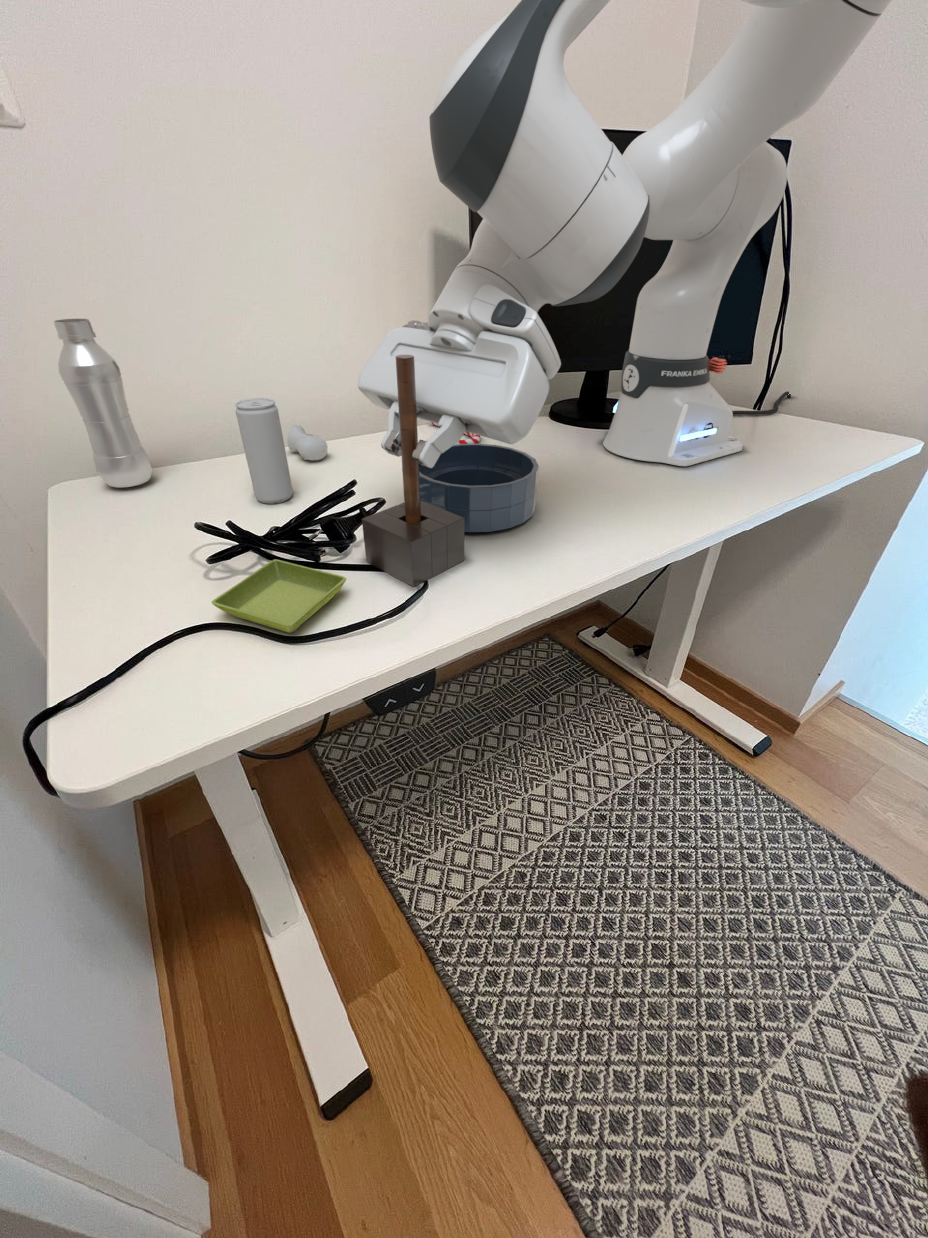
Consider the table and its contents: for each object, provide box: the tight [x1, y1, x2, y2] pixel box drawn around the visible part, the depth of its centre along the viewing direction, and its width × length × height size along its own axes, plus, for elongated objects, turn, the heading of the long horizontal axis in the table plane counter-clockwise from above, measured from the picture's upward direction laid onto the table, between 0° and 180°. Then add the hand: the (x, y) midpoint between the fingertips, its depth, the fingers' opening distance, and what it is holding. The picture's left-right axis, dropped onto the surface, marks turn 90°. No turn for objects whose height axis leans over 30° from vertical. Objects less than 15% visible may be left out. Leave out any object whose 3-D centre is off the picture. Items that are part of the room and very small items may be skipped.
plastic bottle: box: [53, 318, 153, 488], centre depth 69 cm, size 6×7×20 cm
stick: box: [396, 355, 421, 525], centre depth 52 cm, size 2×2×20 cm
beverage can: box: [234, 397, 294, 505], centre depth 68 cm, size 5×5×12 cm
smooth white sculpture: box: [286, 424, 329, 461], centre depth 84 cm, size 4×8×5 cm
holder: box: [361, 500, 465, 588], centre depth 56 cm, size 7×7×5 cm
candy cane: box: [431, 422, 481, 445], centre depth 94 cm, size 8×1×15 cm
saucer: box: [211, 558, 347, 634], centre depth 50 cm, size 9×9×2 cm
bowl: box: [419, 443, 540, 533], centre depth 67 cm, size 15×15×6 cm
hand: (405, 457), depth 51 cm, fingers open, 3 cm apart
